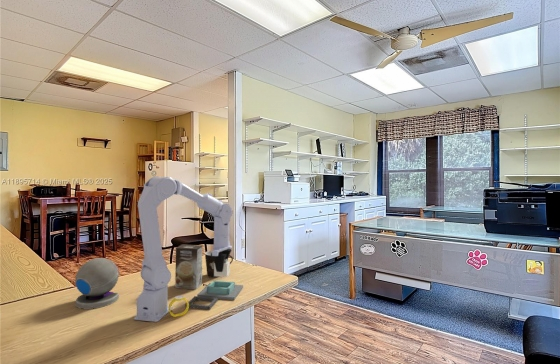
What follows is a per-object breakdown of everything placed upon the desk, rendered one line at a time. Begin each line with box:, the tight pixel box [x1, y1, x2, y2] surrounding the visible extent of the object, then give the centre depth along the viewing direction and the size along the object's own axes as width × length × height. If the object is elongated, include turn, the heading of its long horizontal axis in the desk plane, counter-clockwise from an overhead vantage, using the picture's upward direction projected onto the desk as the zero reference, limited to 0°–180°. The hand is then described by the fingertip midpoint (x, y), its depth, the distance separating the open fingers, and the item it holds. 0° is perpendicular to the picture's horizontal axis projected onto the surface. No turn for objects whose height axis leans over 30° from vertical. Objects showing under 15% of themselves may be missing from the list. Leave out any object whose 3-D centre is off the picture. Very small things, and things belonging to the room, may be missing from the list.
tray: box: [185, 295, 219, 310], centre depth 103 cm, size 7×9×1 cm
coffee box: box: [174, 243, 203, 290], centre depth 119 cm, size 9×6×16 cm
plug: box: [214, 258, 231, 278], centre depth 113 cm, size 4×5×6 cm
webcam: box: [74, 257, 120, 310], centre depth 104 cm, size 13×13×15 cm
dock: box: [196, 280, 244, 301], centre depth 113 cm, size 12×14×3 cm
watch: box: [168, 295, 190, 318], centre depth 94 cm, size 6×3×6 cm, turn 121°
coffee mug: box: [204, 250, 234, 278], centre depth 132 cm, size 12×9×10 cm
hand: (221, 269), depth 113 cm, fingers closed on plug, 3 cm apart
